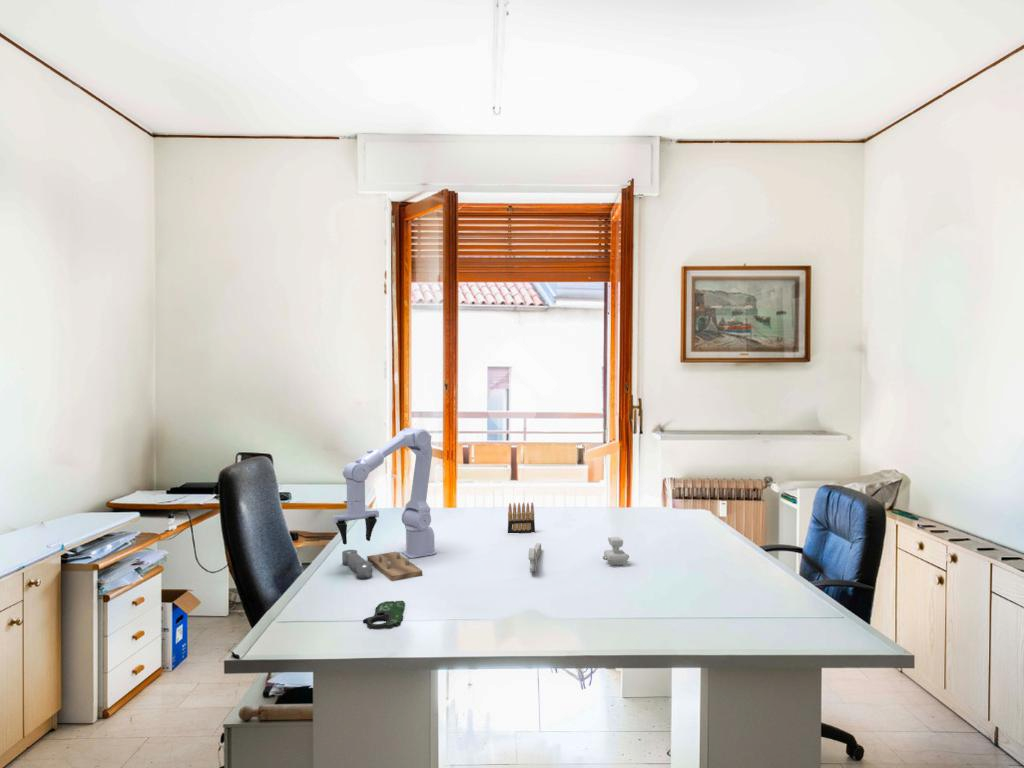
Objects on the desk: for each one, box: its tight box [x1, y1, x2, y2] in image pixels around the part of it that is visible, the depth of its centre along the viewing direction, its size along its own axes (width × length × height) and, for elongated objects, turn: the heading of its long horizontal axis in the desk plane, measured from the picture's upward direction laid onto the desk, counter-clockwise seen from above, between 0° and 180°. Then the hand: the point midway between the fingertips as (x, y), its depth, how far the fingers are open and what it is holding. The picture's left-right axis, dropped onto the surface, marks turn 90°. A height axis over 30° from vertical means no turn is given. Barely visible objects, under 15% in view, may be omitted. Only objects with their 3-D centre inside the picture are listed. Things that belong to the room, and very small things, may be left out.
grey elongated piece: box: [341, 549, 373, 581], centre depth 202 cm, size 5×21×4 cm, turn 31°
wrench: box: [528, 543, 542, 573], centre depth 209 cm, size 8×2×30 cm
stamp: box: [602, 536, 630, 566], centre depth 207 cm, size 9×7×8 cm
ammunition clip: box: [507, 502, 536, 534], centre depth 247 cm, size 11×2×12 cm, turn 97°
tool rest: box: [366, 551, 423, 582], centre depth 205 cm, size 10×24×4 cm, turn 31°
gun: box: [362, 600, 406, 630], centre depth 165 cm, size 16×2×10 cm
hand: (356, 541), depth 202 cm, fingers open, 7 cm apart
